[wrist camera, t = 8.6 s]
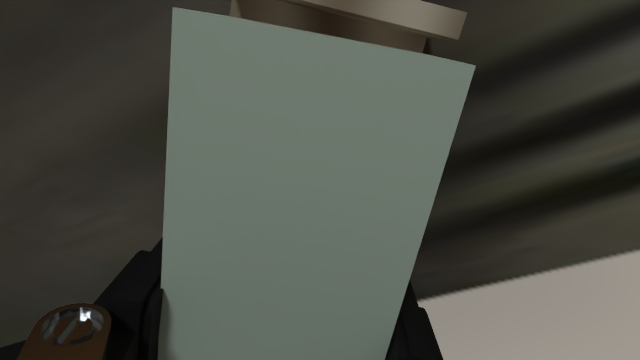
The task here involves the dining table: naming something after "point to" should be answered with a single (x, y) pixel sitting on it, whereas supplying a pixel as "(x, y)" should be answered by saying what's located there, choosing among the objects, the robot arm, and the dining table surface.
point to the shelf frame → (359, 19)
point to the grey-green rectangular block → (295, 188)
